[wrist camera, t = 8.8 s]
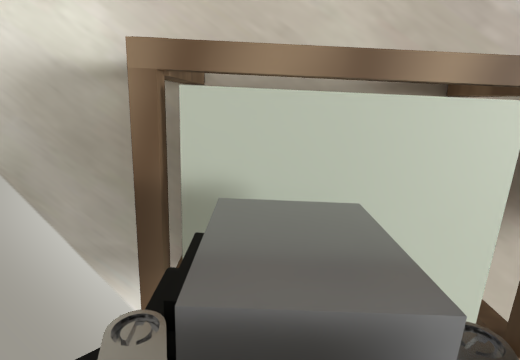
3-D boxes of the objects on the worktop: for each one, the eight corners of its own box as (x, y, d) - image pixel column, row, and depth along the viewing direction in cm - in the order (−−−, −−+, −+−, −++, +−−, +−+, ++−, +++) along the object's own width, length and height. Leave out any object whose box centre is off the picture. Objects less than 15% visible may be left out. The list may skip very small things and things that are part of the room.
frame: (471, 74, 24) (643, 56, 13) (431, 272, 28) (537, 380, 17) (182, 61, 24) (120, 30, 13) (186, 263, 28) (140, 367, 17)
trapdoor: (456, 99, 19) (532, 100, 13) (419, 291, 22) (469, 350, 17) (201, 88, 18) (178, 84, 13) (201, 283, 22) (184, 340, 16)
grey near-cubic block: (359, 203, 11) (467, 316, 5) (343, 323, 12) (418, 519, 7) (218, 197, 11) (174, 305, 5) (217, 319, 12) (180, 513, 7)
